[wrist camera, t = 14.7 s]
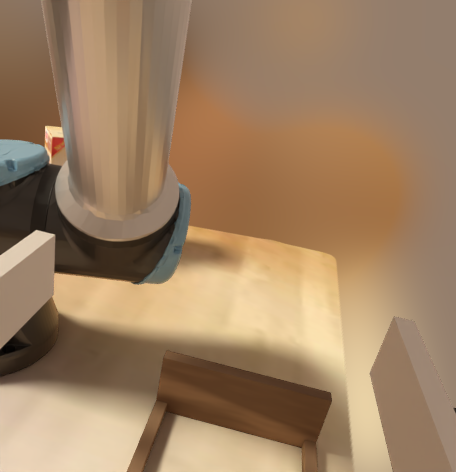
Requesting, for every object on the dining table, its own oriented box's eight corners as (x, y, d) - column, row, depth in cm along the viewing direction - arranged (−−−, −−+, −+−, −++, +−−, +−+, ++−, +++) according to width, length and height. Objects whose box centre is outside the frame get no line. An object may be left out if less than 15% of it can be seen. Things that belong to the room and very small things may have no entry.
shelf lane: (158, 400, 48) (166, 350, 45) (312, 441, 47) (331, 392, 44) (116, 503, 37) (123, 445, 34) (317, 560, 36) (342, 505, 33)
